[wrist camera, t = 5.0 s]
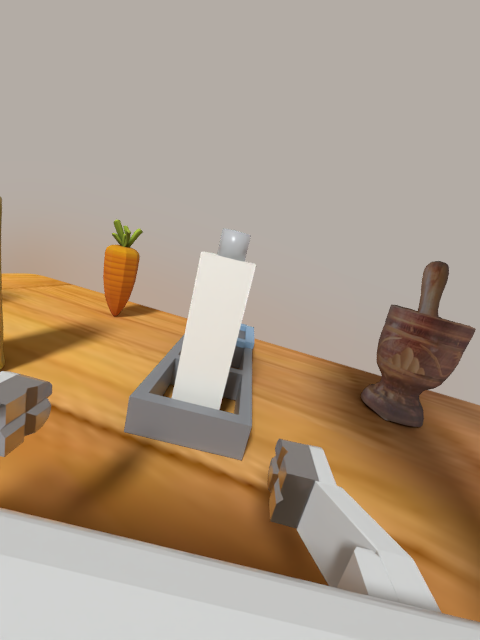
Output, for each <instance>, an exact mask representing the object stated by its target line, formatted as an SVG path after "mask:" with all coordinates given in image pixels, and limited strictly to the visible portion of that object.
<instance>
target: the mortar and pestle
mask: <svg viewBox="0 0 480 640" xmlns="http://www.w3.org/2000/svg"><path fill="white" fill-rule="evenodd" d="M448 275H449V267H448V265H447V264H446V263H443V262H441V261H435V262H431V263H430V264H428V265H427V266H426V268H425V270H424V273H423V278H422V286H421V297H420V303H419V308H418V311H415V310H412V309H409V308H404V307H401V306H397V305H391V307H390V310H389V313H388V316H387V318H386V321H385V322H386V323H385V325H384V327H383V330H382V332H381V336H380V339H379V343H378V349H377V364H378V367H379V369H380V371H381V373H382V378H381V381H380V382H378V383H376V384H371V385H368V386H367V387H366V388H365V389H364V390H363V392H362V393H361V399H362V400H363V402H364V403H365V404H366V405H368V406H369V407H370V408H371V409H372V410H374V411H375V412H376V413H377V414H378V415H380V416H381V417H382V418H383V419H384V420H389V421H392V422H396V423H399V424H403V425H408V426H412V427H421V426H422V424H423V419H424V417H423V408H422V406H421V403H420V401H419V395H420V394H421V393H422V392H423V391H424V390H428V389H433V388H436V387H437V386H439V385H441V384H442V383H443V382H444V381H445V380H446V379H447V378H448V377H449V376H450V374H451V373H452V372H453V371H454V369H455V368H456V366H457V365H458V363H459V361H460V359H461V357H462V354H463V352H464V351H465V349H466V347H467V345H468V344H469V342H470V340H471V338H472V337H473V334H474V332H475V328H473V327H470V326H467V325H464V324H461V323H455V322H453V321H449V320H446V319H442V318H441V317H438V307H439V302H440V299H441V296H442V293H443V290H444V288H445V285H446V283H447V279H448Z"/></svg>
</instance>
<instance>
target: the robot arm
mask: <svg viewBox="0 0 480 640" xmlns="http://www.w3.org/2000/svg"><path fill="white" fill-rule="evenodd" d="M51 394H52V384H51V383H50V382H48V381H44V380H40V379H36V378H33V377H29V376H25V375H21V374H18V373H13V372H9V371H2V372H0V456H2V457H5V456H6V455H8V454H9V453H10V452H11V451H13V450H14V449H15V448H16V447H18V446H19V445H20V444H21V443H23V442H24V437H25V436H26V435H29V434H32V433H35V432H36V431H37V430H39V429H40V428H41V427H42V426H43V425H44V423H45V422H46V420H47V419H48V417H49V414H50V410H51V404H50V402H49V401H48V399H47V398H48V397H49V396H50V395H51ZM275 451H276V456H275V457H274V458H272V460H271V463H270V466H269V472H268V490H269V491H270V493H271V496H270V499H269V511H270V521H272V522H275V523H279V524H282V525H286V526H290V527H293V528H297V531H298V533H299V535H300V537H301V538H302V540H303V542H304V544H305V545H306V547H307V549H308V550H309V552H310V554H311V556H312V557H313V559H314V561H315V563H316V564H317V566H318V568H319V570H320V571H321V573H322V575H323V576H324V578H325V580H326V582H327V583H328V585H329V586H326V585H322V584H318V583H314V582H310V581H305V580H301V579H297V578H293V577H289V576H285V575H280V574H276V573H272V572H268V571H263V570H259V569H255V568H251V567H247V566H242V565H238V564H234V563H230V562H226V561H221V560H217V559H213V558H209V557H205V556H201V555H197V554H192V553H188V552H184V551H180V550H176V549H172V548H167V547H163V546H159V545H155V544H151V543H147V542H143V541H138V540H134V539H130V538H126V537H122V536H118V535H113V534H109V533H105V532H101V531H97V530H92V529H88V528H84V527H80V526H76V525H72V524H67V523H63V522H59V521H55V520H51V519H46V518H42V517H38V516H34V515H30V514H25V513H21V512H17V511H13V510H9V509H5V508H0V640H480V622H477V621H473V620H468V619H464V618H460V617H456V616H452V615H448V614H443V613H441V611H440V609H439V607H438V605H437V603H436V602H435V600H434V598H433V596H432V594H431V592H430V590H429V588H428V586H427V585H426V583H425V581H424V579H423V577H422V575H421V573H420V571H419V570H418V568H417V566H416V564H415V562H414V560H413V559H412V558H411V557H410V556H409V555H408V554H407V553H406V552H405V551H404V550H403V549H402V548H401V547H400V546H399V545H398V544H397V543H396V542H395V541H394V540H393V539H392V538H391V537H390V536H389V535H388V534H387V533H386V532H385V531H384V530H383V529H382V528H381V527H380V526H379V525H378V524H377V523H376V522H375V521H374V520H373V519H372V518H371V517H370V516H369V515H368V514H367V512H366V511H365V510H364V509H363V508H362V507H361V506H360V505H359V504H358V503H357V502H356V501H355V500H354V499H353V498H352V497H351V496H350V495H349V494H348V493H347V492H346V491H345V490H344V489H343V488H342V487H338V486H337V485H336V482H335V480H334V477H333V475H332V472H331V469H330V467H329V464H328V461H327V459H326V456H325V453H324V451H323V449H322V448H320V447H316V446H311V445H304V444H300V443H296V442H292V441H287V440H283V439H279V440H278V442H277V444H276V447H275Z"/></svg>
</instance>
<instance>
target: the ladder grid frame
mask: <svg viewBox="0 0 480 640" xmlns="http://www.w3.org/2000/svg"><path fill="white" fill-rule="evenodd" d="M184 335H185V334H184ZM183 340H184V336H183V337H182V338H181V339H180V340H179V341H178V342H177V343H176V345H175V346H174V347H173V348H172V349H171V350H170V351H169V352H168V354H167V355H166V356H165V357H164V358H163V359H162V360H161V362H160V363H159V364H158V365H157V366H156V367H155V368H154V369H153V371H152V372H151V373H150V374H149V375H148V376H147V377H146V378H145V380H144V381H143V382H142V383H141V384H140V385H139V386H138V388H137V389H136V390H135V391H134V392H133V393H132V394H131V395H130V397H129V403H128V410H127V416H126V422H125V429H124V432H127V433H131V434H135V435H139V436H143V437H147V438H152V439H156V440H160V441H164V442H168V443H172V444H176V445H180V446H185V447H189V448H193V449H197V450H201V451H205V452H209V453H213V454H218V455H222V456H226V457H230V458H234V459H238V460H242V458H243V454H244V451H245V448H246V444H247V441H248V437H249V434H250V431H251V427H252V349H253V346H254V327H250V326H247V325H245V324H241V326H240V330H239V334H238V338H237V342H236V346H235V350H234V354H233V358H232V362H231V366H230V370H229V374H228V378H227V382H226V385H225V389H224V393H223V397H224V398H228V399H232V400H235V409H234V414H233V413H229V412H225V411H221V410H217V409H213V408H209V407H205V406H201V405H196V404H192V403H188V402H184V401H180V400H176V399H172V398H168V397H164V396H163V394H164V393H165V391H166V390H167V388H168V387H169V385H170V384H171V385H175V380H176V375H177V370H178V365H179V360H180V355H181V350H182V345H183ZM231 367H235V368H239V369H235V368H231Z"/></svg>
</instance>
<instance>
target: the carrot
mask: <svg viewBox="0 0 480 640" xmlns="http://www.w3.org/2000/svg"><path fill="white" fill-rule="evenodd" d="M114 225H115V228H116V231H117V233H118V235H117V234H115V233H112V235H113V236H114V238H115V239H116V240H117V241H118V243H119V244H120V245H111V246H109V247H107V249H106V251H105V260H104V275H103V277H104V291H105V297H106V301H107V304H108V307H109V309H110V311H111V313H112V314H113V316H117V315H118V314H119V313H120V312H121V311H122V309H123V308H124V307H125V305H126V303H127V301H128V300H129V297H130V295H131V292H132V289H133V286H134V283H135V279H136V274H137V270H138V263H139V253H138V252H137V251H136V250H135V249H133V248H130V246H131V245H132V244H133V242H134V241H135V240H136V239H137V238H138V236H139V235H140V234H141V233H142V230H141V229H137V230H136V231H135V232H134V234H133V235H132V237H131V238H130V234H131V232H130V230H129V229H128V227H127V226H124V231H125V234H124V232H123V228H122V225H121V223H120V220H115V221H114Z"/></svg>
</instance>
